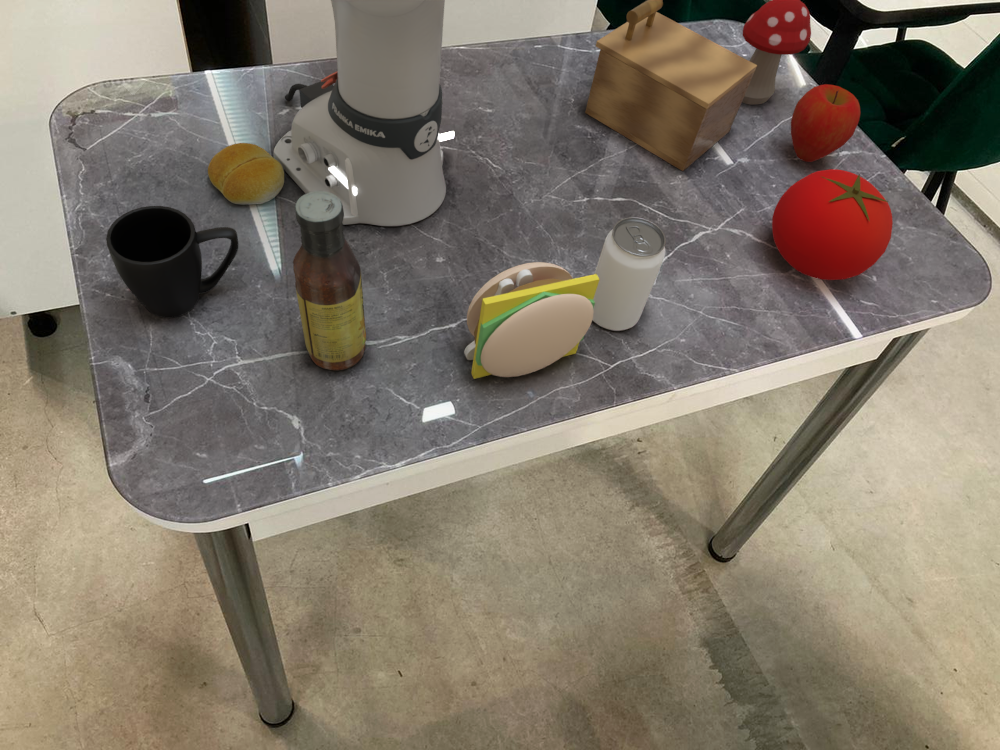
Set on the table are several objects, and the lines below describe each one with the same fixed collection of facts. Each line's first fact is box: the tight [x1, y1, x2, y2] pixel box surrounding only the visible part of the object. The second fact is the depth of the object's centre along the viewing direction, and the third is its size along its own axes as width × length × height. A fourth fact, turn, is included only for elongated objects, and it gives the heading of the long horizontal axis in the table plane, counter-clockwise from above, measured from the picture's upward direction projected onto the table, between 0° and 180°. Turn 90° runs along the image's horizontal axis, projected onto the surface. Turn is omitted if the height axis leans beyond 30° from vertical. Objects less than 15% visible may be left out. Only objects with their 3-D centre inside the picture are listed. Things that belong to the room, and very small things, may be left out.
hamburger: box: [463, 261, 600, 380], centre depth 82 cm, size 12×8×12 cm
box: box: [584, 49, 755, 172], centre depth 110 cm, size 17×13×10 cm
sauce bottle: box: [292, 191, 367, 372], centre depth 76 cm, size 7×6×20 cm
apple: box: [790, 83, 861, 163], centre depth 109 cm, size 9×8×11 cm
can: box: [592, 216, 667, 332], centre depth 87 cm, size 6×6×12 cm
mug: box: [105, 205, 240, 319], centre depth 82 cm, size 8×12×10 cm
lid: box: [595, 0, 757, 109], centre depth 104 cm, size 18×13×5 cm
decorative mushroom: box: [741, 0, 812, 105], centre depth 115 cm, size 10×9×15 cm
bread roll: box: [207, 142, 285, 205], centre depth 95 cm, size 8×9×4 cm
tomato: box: [771, 168, 894, 281], centre depth 96 cm, size 13×14×12 cm
